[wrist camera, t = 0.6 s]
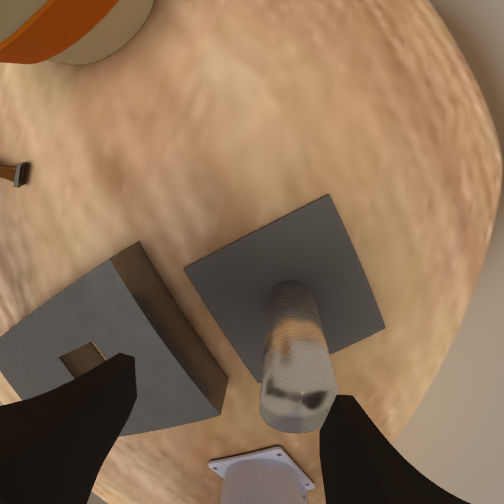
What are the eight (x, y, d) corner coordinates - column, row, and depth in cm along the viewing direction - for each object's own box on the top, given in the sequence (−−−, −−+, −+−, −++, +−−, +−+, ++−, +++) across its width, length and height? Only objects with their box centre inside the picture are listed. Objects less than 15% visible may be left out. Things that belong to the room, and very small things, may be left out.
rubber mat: (383, 325, 20) (385, 328, 19) (258, 379, 22) (257, 382, 21) (327, 193, 18) (329, 194, 17) (185, 267, 20) (183, 269, 19)
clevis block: (228, 378, 22) (220, 415, 18) (75, 419, 26) (60, 442, 22) (138, 241, 19) (109, 258, 15) (9, 330, 23) (-15, 348, 19)
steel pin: (321, 310, 19) (350, 417, 10) (280, 329, 20) (280, 440, 11) (302, 271, 19) (323, 366, 10) (258, 292, 19) (244, 395, 10)
